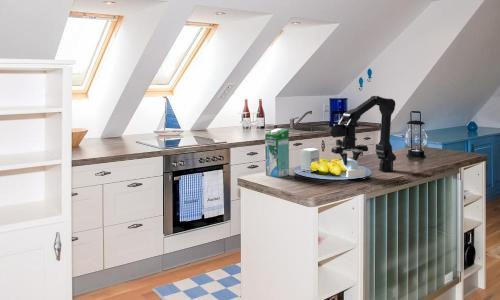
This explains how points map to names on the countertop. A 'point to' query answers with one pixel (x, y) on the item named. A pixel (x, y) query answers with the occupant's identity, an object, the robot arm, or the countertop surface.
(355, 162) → the pale blue block
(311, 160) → the supplement box
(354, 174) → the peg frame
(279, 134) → the milk carton
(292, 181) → the countertop surface
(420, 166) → the countertop surface
